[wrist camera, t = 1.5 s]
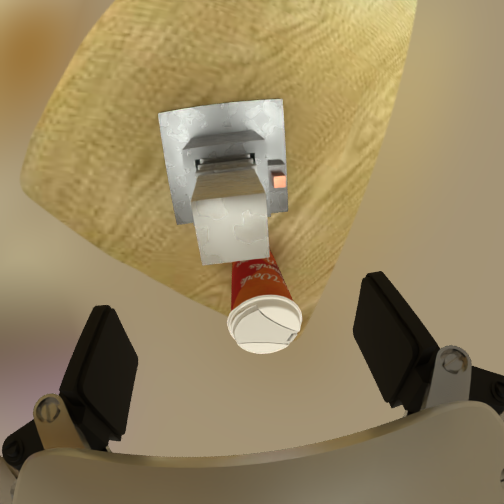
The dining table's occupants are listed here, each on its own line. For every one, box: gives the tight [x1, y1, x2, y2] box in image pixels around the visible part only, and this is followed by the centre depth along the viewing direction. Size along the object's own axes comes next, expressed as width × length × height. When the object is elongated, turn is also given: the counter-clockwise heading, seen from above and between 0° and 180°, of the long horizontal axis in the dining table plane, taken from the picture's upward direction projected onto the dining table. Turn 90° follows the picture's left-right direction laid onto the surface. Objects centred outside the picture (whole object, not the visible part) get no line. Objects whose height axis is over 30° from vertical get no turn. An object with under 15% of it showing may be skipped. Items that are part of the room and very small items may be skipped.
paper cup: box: [227, 250, 302, 354], centre depth 34 cm, size 8×8×14 cm
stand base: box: [158, 99, 288, 226], centre depth 28 cm, size 14×14×11 cm
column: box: [191, 153, 270, 265], centre depth 24 cm, size 4×4×18 cm
